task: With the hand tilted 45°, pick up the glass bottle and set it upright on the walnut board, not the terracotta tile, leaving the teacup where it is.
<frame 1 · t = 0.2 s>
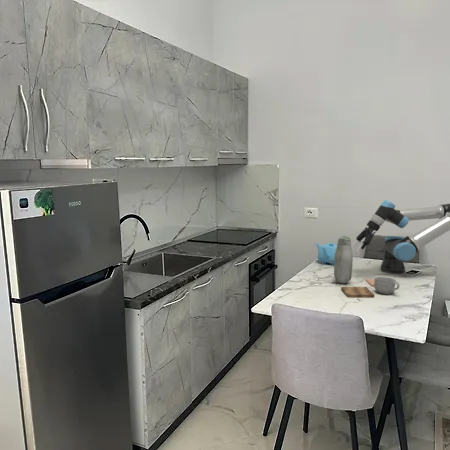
hand: (355, 251, 257), 16 cm above the table, tool tilted 35°, fingers open, 13 cm apart
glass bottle: (342, 283, 244), on the table
teacup: (386, 293, 224), on the table
terracotta tile: (379, 283, 242), on the table
walnut board: (357, 293, 224), on the table
teakettle: (329, 263, 293), on the table
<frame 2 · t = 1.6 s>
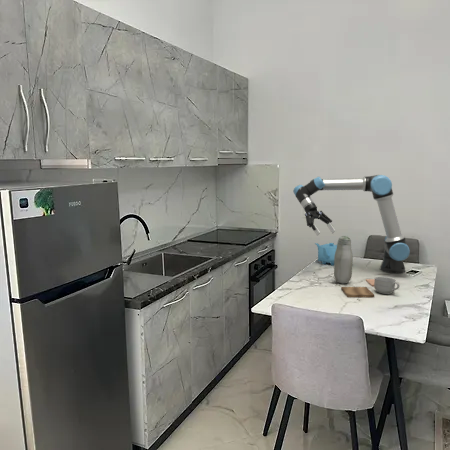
hand: (326, 233, 250), 28 cm above the table, tool tilted 45°, fingers open, 13 cm apart
nothing on the table moved.
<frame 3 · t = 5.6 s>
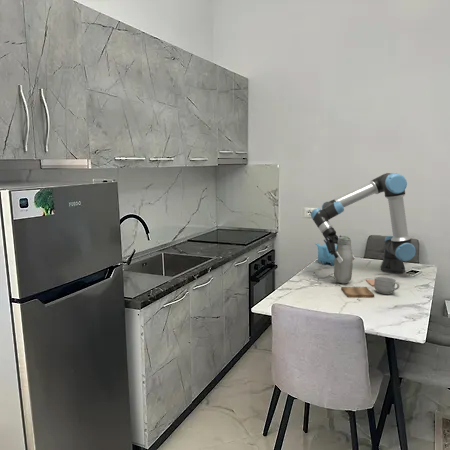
hand: (347, 260, 240), 14 cm above the table, tool tilted 45°, fingers closed on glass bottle, 10 cm apart
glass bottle: (342, 283, 244), on the table, touching gripper
everything else where it was.
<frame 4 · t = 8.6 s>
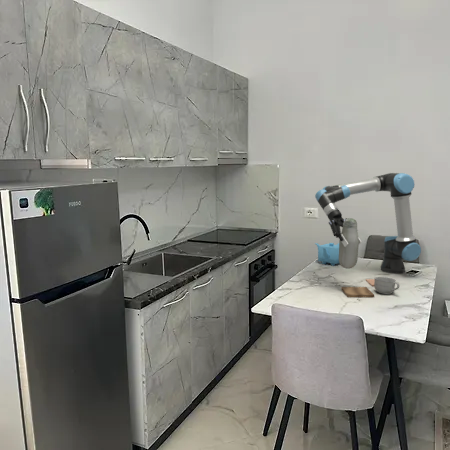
hand: (353, 244, 227), 26 cm above the table, tool tilted 45°, fingers closed on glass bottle, 10 cm apart
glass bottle: (347, 268, 231), point 12 cm above the table, touching gripper
everything else where it was.
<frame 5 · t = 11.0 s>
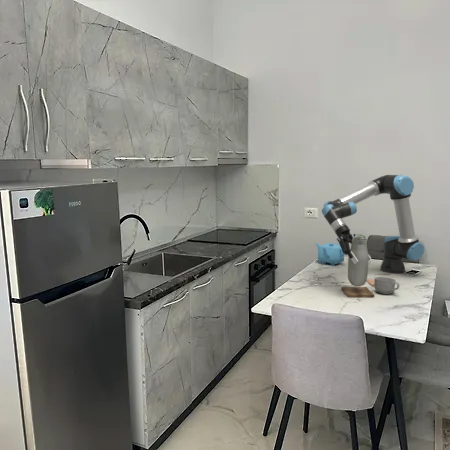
hand: (363, 261, 219), 18 cm above the table, tool tilted 45°, fingers closed on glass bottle, 10 cm apart
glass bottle: (357, 285, 224), point 4 cm above the table, touching gripper
everything else where it was.
when the fingers open (17 cm above the table, at t = 12.0 s): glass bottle drops 1 cm, resting on walnut board.
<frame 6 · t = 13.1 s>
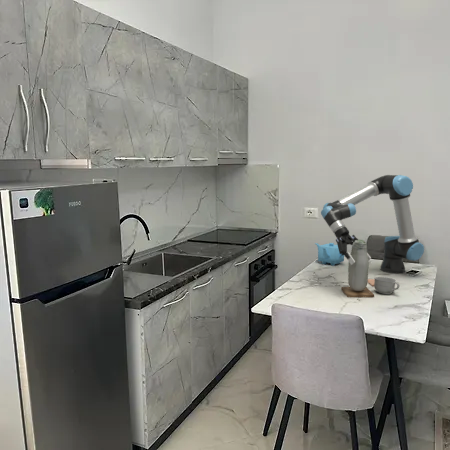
hand: (361, 261, 220), 18 cm above the table, tool tilted 45°, fingers open, 13 cm apart
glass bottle: (357, 290, 224), point 1 cm above the table, touching walnut board
everything else where it was.
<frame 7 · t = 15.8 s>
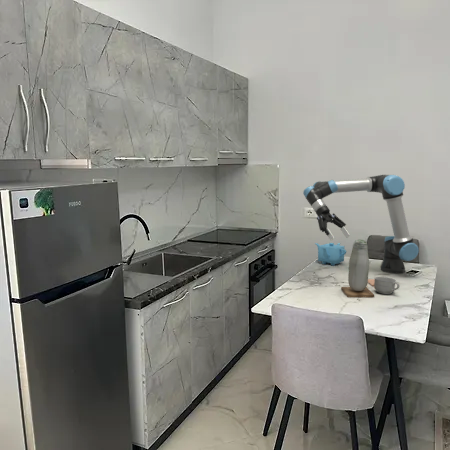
hand: (340, 238, 232), 28 cm above the table, tool tilted 45°, fingers open, 13 cm apart
nothing on the table moved.
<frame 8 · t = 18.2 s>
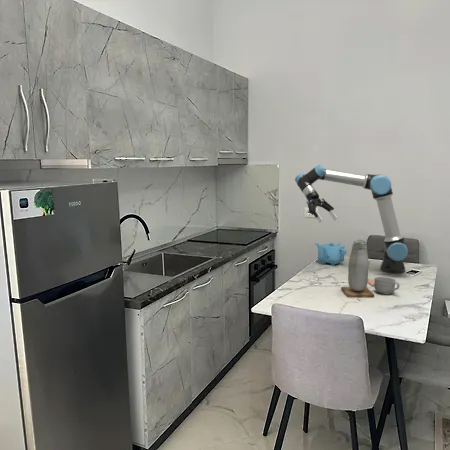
hand: (328, 220, 252), 36 cm above the table, tool tilted 45°, fingers open, 13 cm apart
nothing on the table moved.
at the end: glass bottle inside the target area on the walnut board (0.4 cm from its centre), point 1.3 cm above the walnut board's base; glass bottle tilted 1°; teacup moved 0.3 cm from its start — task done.
